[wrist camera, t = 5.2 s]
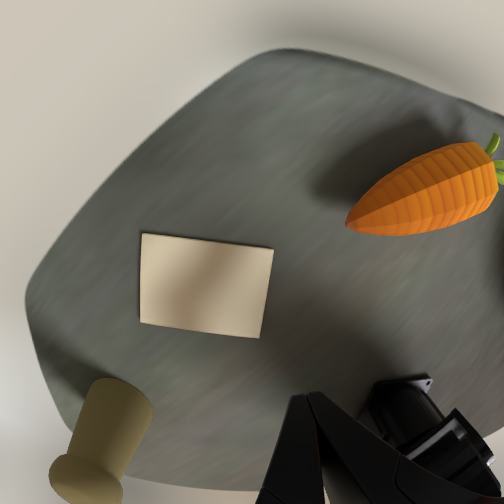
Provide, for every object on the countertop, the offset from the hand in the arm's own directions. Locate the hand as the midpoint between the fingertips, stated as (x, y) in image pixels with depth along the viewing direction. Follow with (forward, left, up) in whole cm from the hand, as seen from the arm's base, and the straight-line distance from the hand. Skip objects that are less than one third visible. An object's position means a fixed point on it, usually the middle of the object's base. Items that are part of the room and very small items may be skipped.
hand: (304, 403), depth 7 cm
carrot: (-3, -4, -9) cm, 10 cm away
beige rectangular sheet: (+4, +1, -11) cm, 12 cm away
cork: (+10, +13, -11) cm, 20 cm away
